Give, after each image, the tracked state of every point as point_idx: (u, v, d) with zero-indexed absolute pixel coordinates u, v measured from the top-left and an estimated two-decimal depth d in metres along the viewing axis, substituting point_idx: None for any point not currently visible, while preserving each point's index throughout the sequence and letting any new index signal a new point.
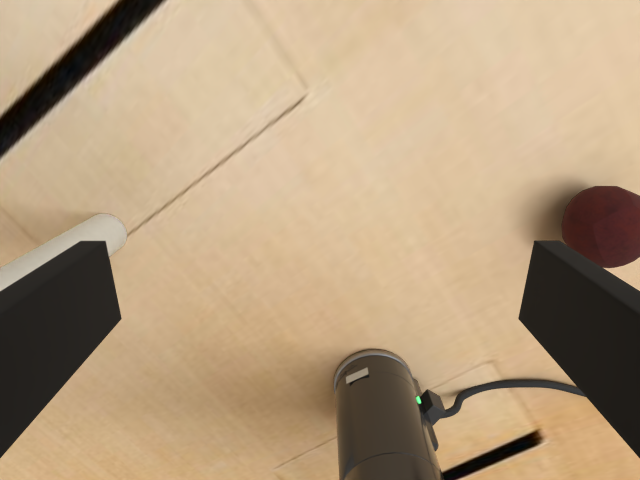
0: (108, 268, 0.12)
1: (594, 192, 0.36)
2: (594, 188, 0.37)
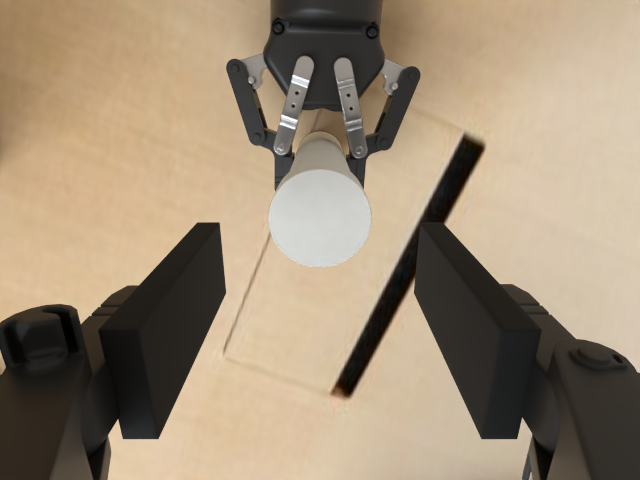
0: (220, 247, 0.14)
1: None
2: None
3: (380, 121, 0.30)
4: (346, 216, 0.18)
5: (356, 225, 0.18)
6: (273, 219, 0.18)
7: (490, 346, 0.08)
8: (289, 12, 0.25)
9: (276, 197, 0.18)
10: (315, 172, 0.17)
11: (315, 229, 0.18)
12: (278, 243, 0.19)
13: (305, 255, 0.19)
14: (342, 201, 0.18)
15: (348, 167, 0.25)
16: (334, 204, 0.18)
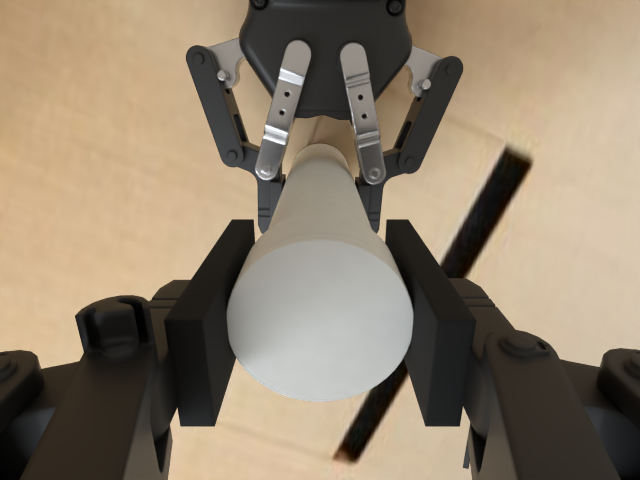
0: (254, 243, 0.14)
1: None
2: None
3: (402, 132, 0.22)
4: (369, 320, 0.10)
5: (386, 335, 0.10)
6: (235, 325, 0.10)
7: (431, 336, 0.08)
8: None
9: (238, 289, 0.10)
10: (311, 245, 0.09)
11: (311, 342, 0.10)
12: (245, 364, 0.10)
13: (294, 383, 0.11)
14: (361, 295, 0.10)
15: (362, 204, 0.17)
16: (346, 300, 0.10)
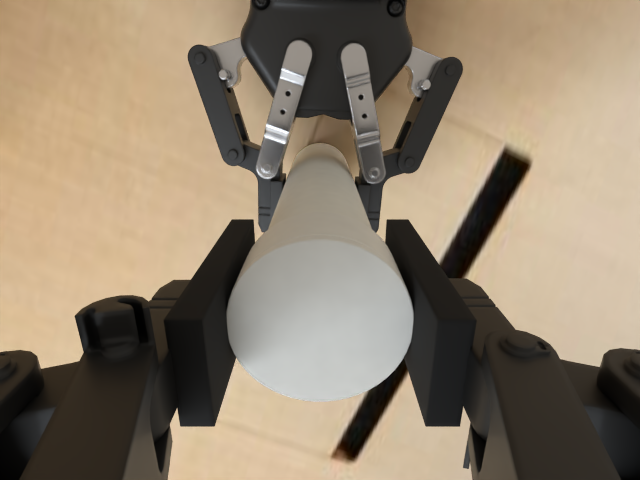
0: (254, 243, 0.14)
1: None
2: None
3: (402, 132, 0.22)
4: (298, 287, 0.10)
5: (310, 266, 0.09)
6: (338, 393, 0.11)
7: (431, 336, 0.08)
8: None
9: (299, 397, 0.11)
10: (238, 354, 0.10)
11: (338, 330, 0.10)
12: (379, 378, 0.11)
13: (392, 335, 0.10)
14: (273, 301, 0.10)
15: None
16: (283, 312, 0.10)
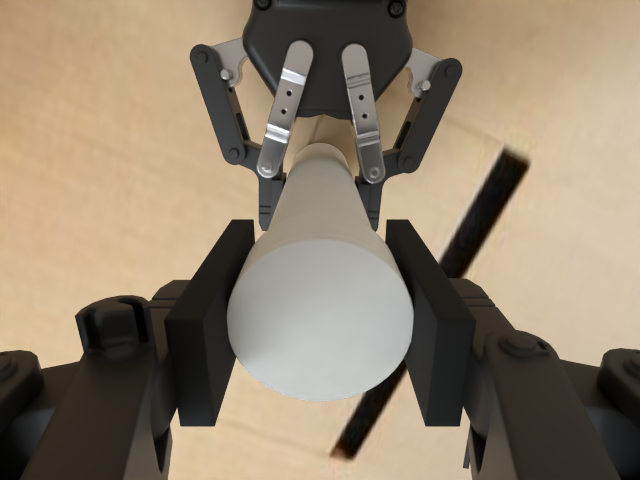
0: (254, 243, 0.14)
1: None
2: None
3: (402, 133, 0.23)
4: (283, 354, 0.10)
5: (259, 348, 0.10)
6: (397, 290, 0.10)
7: (431, 336, 0.08)
8: None
9: (409, 326, 0.10)
10: (368, 386, 0.11)
11: (318, 311, 0.10)
12: (367, 256, 0.09)
13: (308, 260, 0.09)
14: (304, 369, 0.10)
15: (361, 202, 0.17)
16: (313, 360, 0.10)
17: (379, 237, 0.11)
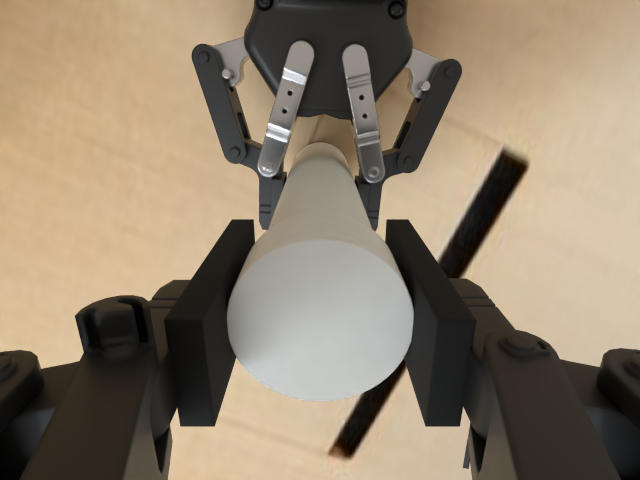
0: (254, 243, 0.14)
1: None
2: None
3: (402, 133, 0.23)
4: (360, 350, 0.10)
5: (359, 370, 0.10)
6: (257, 272, 0.09)
7: (431, 336, 0.08)
8: None
9: (293, 248, 0.09)
10: (380, 264, 0.09)
11: (302, 332, 0.10)
12: (232, 308, 0.10)
13: (254, 352, 0.10)
14: (374, 329, 0.10)
15: (361, 202, 0.17)
16: (360, 324, 0.10)
17: (249, 252, 0.11)
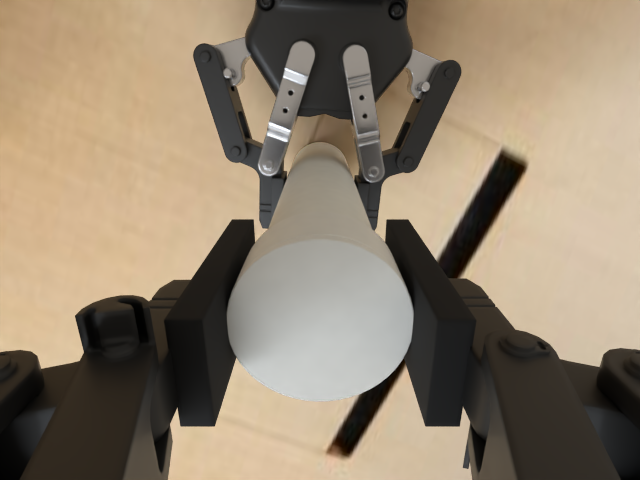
0: (254, 243, 0.14)
1: None
2: None
3: (401, 133, 0.23)
4: (337, 285, 0.10)
5: (362, 278, 0.10)
6: (279, 386, 0.11)
7: (431, 336, 0.08)
8: None
9: (247, 366, 0.10)
10: (236, 295, 0.10)
11: (330, 340, 0.10)
12: (321, 398, 0.11)
13: (364, 374, 0.10)
14: (307, 279, 0.10)
15: (361, 201, 0.18)
16: (305, 294, 0.10)
17: None
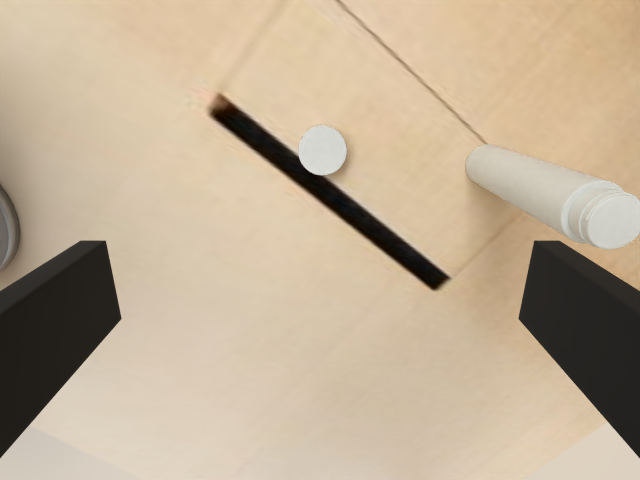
0: (108, 268, 0.12)
1: None
2: None
3: None
4: (326, 139, 0.38)
5: (333, 137, 0.38)
6: (311, 170, 0.40)
7: None
8: None
9: (303, 163, 0.39)
10: (301, 141, 0.39)
11: (325, 155, 0.39)
12: (322, 174, 0.40)
13: (334, 166, 0.39)
14: (319, 137, 0.38)
15: None
16: (318, 141, 0.39)
17: None
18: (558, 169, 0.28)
